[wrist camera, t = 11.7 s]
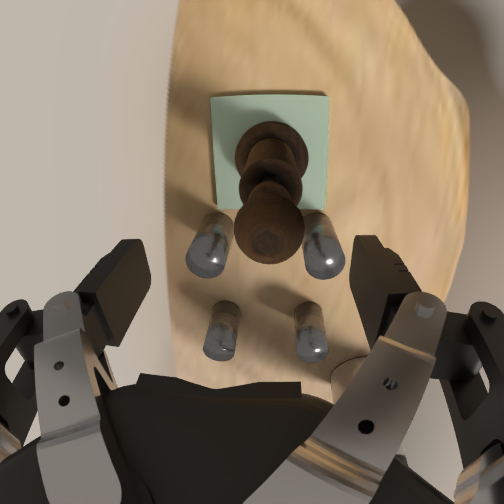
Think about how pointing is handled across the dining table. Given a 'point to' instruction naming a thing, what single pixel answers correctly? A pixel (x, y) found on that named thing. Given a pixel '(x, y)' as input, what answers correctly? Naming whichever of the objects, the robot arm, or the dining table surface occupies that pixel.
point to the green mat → (261, 110)
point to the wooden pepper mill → (270, 192)
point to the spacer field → (228, 314)
